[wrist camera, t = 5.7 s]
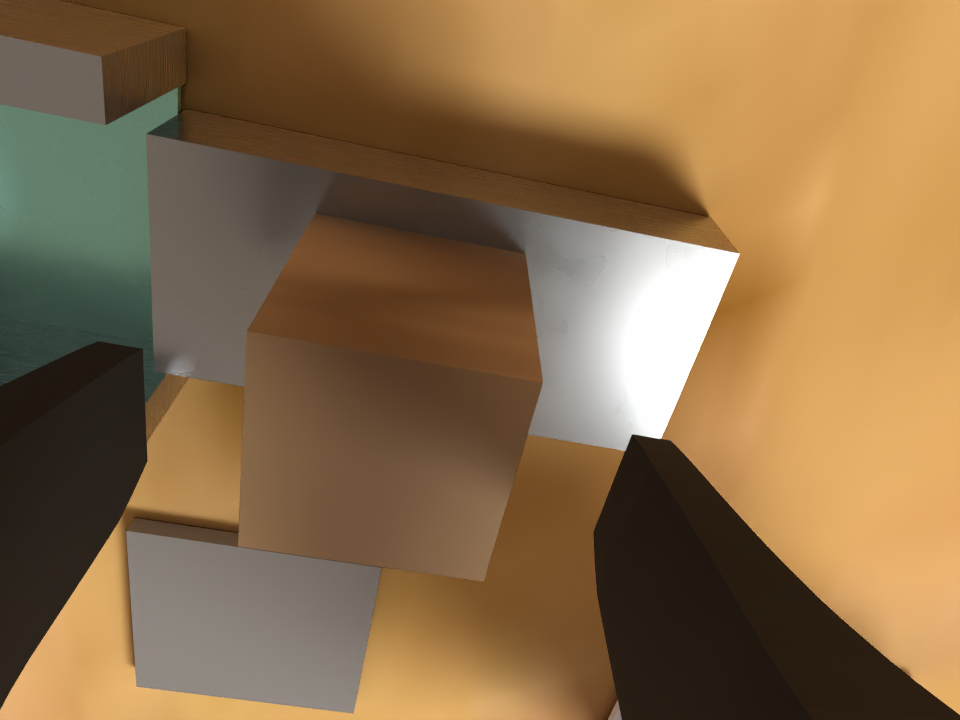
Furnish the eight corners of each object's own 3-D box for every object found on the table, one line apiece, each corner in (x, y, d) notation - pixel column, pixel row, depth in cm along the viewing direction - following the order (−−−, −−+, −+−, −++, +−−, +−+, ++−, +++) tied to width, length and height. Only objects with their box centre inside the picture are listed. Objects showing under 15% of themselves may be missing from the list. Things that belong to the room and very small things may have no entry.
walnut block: (526, 254, 14) (543, 382, 10) (483, 420, 16) (483, 581, 12) (314, 213, 13) (247, 330, 9) (299, 390, 15) (237, 546, 11)
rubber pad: (383, 554, 21) (381, 568, 20) (355, 699, 24) (353, 713, 24) (133, 517, 20) (125, 531, 19) (142, 672, 23) (136, 686, 23)
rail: (738, 147, 15) (803, 205, 12) (619, 451, 19) (645, 551, 16) (-248, -67, 13) (-474, -65, 10) (-140, 323, 17) (-276, 410, 14)
